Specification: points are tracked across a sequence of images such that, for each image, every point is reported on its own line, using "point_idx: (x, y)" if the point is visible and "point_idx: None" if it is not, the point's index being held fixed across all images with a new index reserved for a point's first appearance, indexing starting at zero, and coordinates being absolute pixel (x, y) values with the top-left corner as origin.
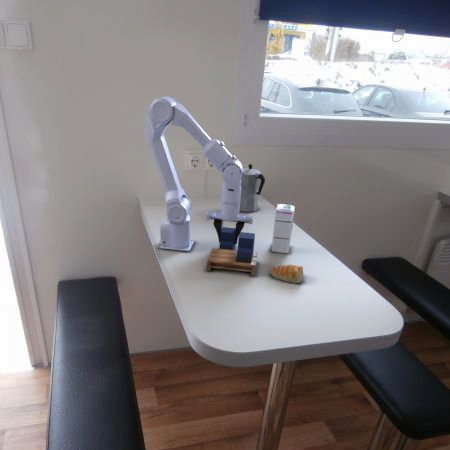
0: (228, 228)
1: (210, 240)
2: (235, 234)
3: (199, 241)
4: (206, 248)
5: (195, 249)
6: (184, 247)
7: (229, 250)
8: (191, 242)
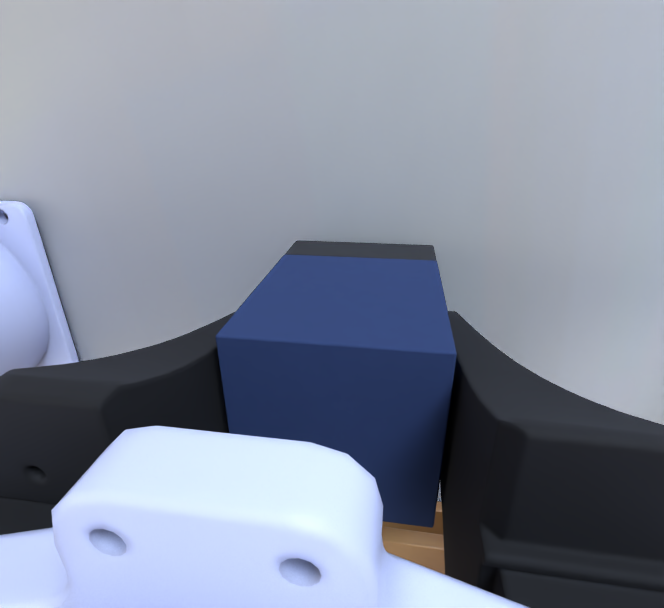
0: (315, 381)
1: (149, 100)
2: (442, 493)
3: (66, 161)
4: (181, 301)
5: (112, 334)
6: (32, 365)
7: (391, 550)
8: (24, 248)
